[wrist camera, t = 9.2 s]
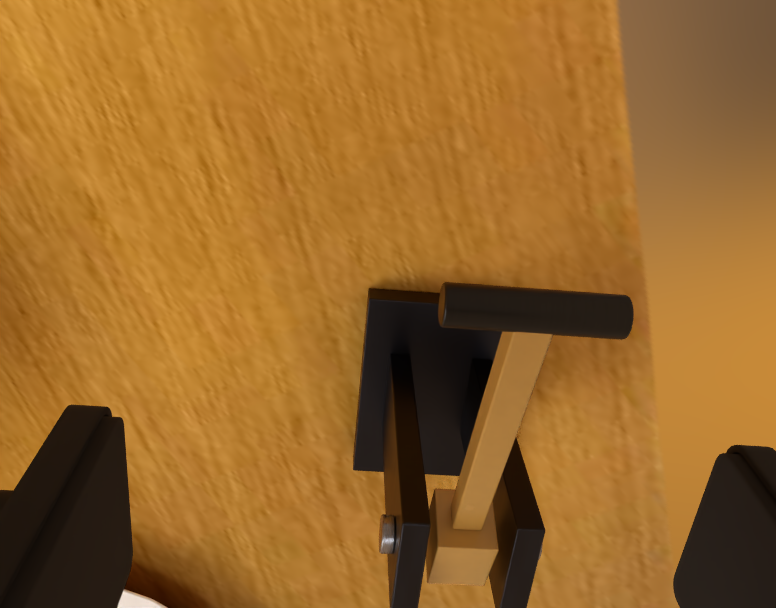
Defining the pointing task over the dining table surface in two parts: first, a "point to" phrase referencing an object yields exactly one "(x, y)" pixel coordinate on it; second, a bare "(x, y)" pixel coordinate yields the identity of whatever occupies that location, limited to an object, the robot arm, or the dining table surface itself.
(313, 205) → the dining table surface
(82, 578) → the robot arm
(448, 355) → the switch bracket
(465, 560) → the switch lever
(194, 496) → the dining table surface
